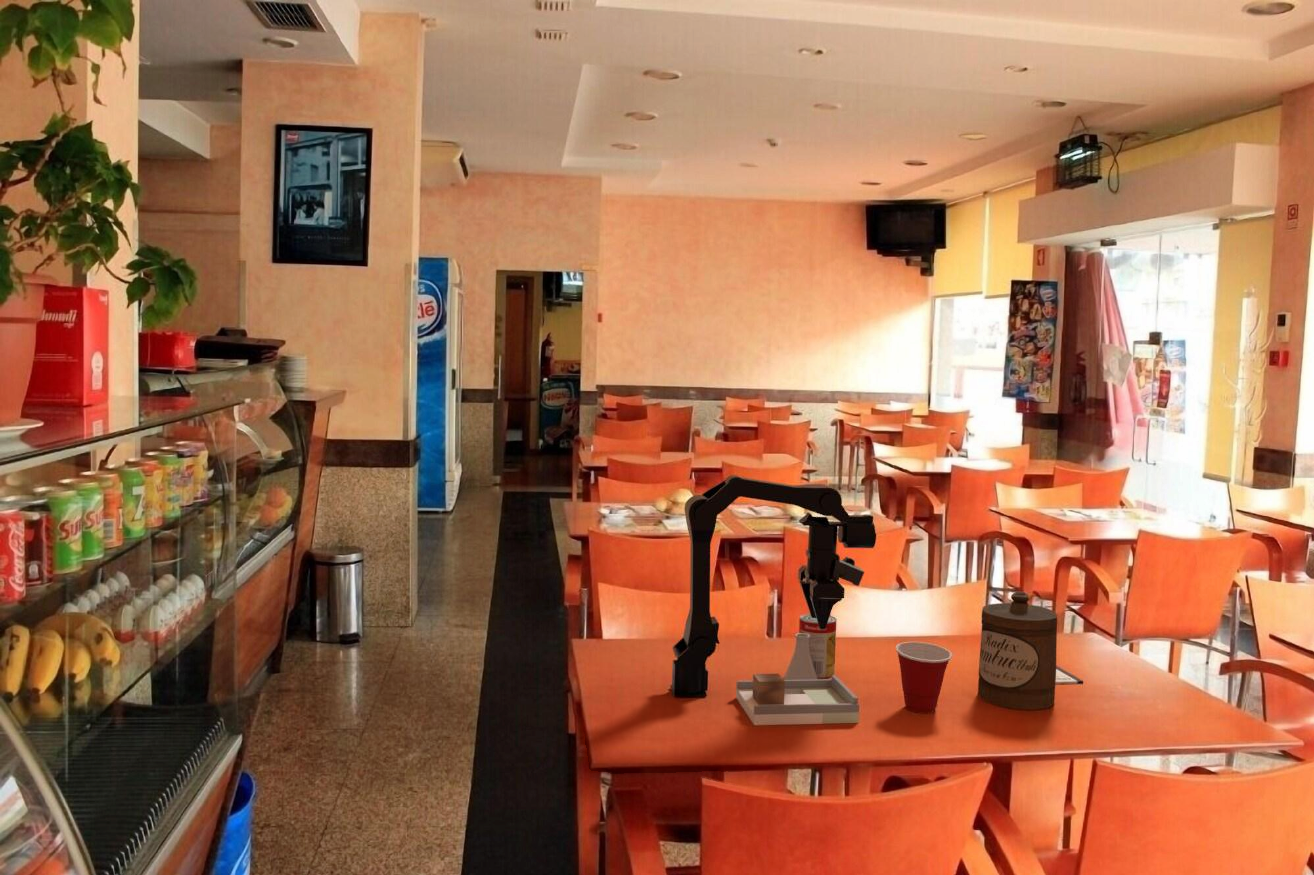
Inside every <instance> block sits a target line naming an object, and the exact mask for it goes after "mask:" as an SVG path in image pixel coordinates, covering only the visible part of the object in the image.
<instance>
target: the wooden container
mask: <svg viewBox="0 0 1314 875" xmlns="http://www.w3.org/2000/svg"><path fill="white" fill-rule="evenodd" d="M1010 598H1011V601H1012V602H1011V603H1010V602H1006V603H1005V602H1003V603H990V604H986V605H984V606H982V609H981V632H980V636H981V637H980V649H979V660H978V665H979V666H978V682H977V683H978V687H977V695H978V697H979V698H980V699H982V700H983V701H984V702H986V703H988V702H989V703H988V704H991V705H994V706H997V705H998V706H997V707H1002V708H1005V707H1006V709H1012V710H1022V711H1023V710H1025V711H1028V710H1029V711H1034V710H1035V711H1037V710H1043V709H1047V708H1051V707H1053V705H1055V699H1056V696H1055V695H1056V684H1055V682H1056V666H1057V643H1058V642H1057V641H1058V640H1057V639H1058V638H1057V637H1058V634H1057V633H1058V613H1057V612H1056V611H1054V610H1052V609H1050V608H1046V607H1043V606H1038V605H1035V604H1034V605H1033V604H1029V603H1028V602H1029V600H1030V595H1029V594H1028V593H1026V592H1024V591H1022V590H1021V591H1020V590H1019V591H1015V592H1014V593H1012V594H1011V596H1010Z"/></svg>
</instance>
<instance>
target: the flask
mask: <svg viewBox="0 0 1314 875" xmlns="http://www.w3.org/2000/svg"><path fill="white" fill-rule="evenodd" d="M794 637H795V647H794V651H793V654H792V657H791V659H790V662H789V664H788V667H787V670H786V671H785V675H784V677H783V680H806V679H818V678H817V676H816V673H815V670H814V667H813V663H812V660H811V656H810V652H809V638H810V635H809V634H805V633H799V632H798V633H795V634H794Z"/></svg>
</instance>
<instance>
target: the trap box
mask: <svg viewBox="0 0 1314 875" xmlns="http://www.w3.org/2000/svg"><path fill="white" fill-rule="evenodd" d="M783 680H784V679H783ZM784 681H785V692H784V704H778V705H758V704H757V702H756V701H755V699H754V698H753V679H752V680H736V688H735V689H736V692H735V693H736V694H735V698H736V700H737V701H738V703H739V705H740V707H741V708H742V709H743V710H744V712H745V714H746V715H747V717H748V718H749V719H750V721H751V723H752V724H753V725H754V726H778V725H780V726H782V725H815V724H816V725H819V724H821V725H823V724H826V725H827V724H858V723H859V719H860V704H859V697H858V696H857V695H856V694H855V693H853V691H852V690H851V689H850V688H849V687H848V686H847V685H846V683H844V682H843V681H842V680H841V679H840V678H839V677H838V676H837V675H836V674H834V675H832V676H831V677H830V678H828V679H827V678H817V679H806V680H784Z"/></svg>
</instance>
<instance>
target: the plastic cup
mask: <svg viewBox="0 0 1314 875" xmlns="http://www.w3.org/2000/svg"><path fill="white" fill-rule="evenodd" d="M895 651H896V653H897V657H898V663H899V668H900V677H901V678H900V679H901V686H902V692H903V699H904V705H905V709H907V710H908V711H910V712H914V713H919V714H930V713H933V712H935V711H936V709H937V707H938V706H937V705H938V702H939V696H940V693H941V691H942V686H943V681H944V676H945V672H946V669H947V667H948V664H949V661H950V660H951V659H952V657H953V653H952V652H951V650H949V649H947V648H946V647H943V646H940V645H938V644H935V643H929V642H923V641H905V642H901V643H898V644H896V646H895Z"/></svg>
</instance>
